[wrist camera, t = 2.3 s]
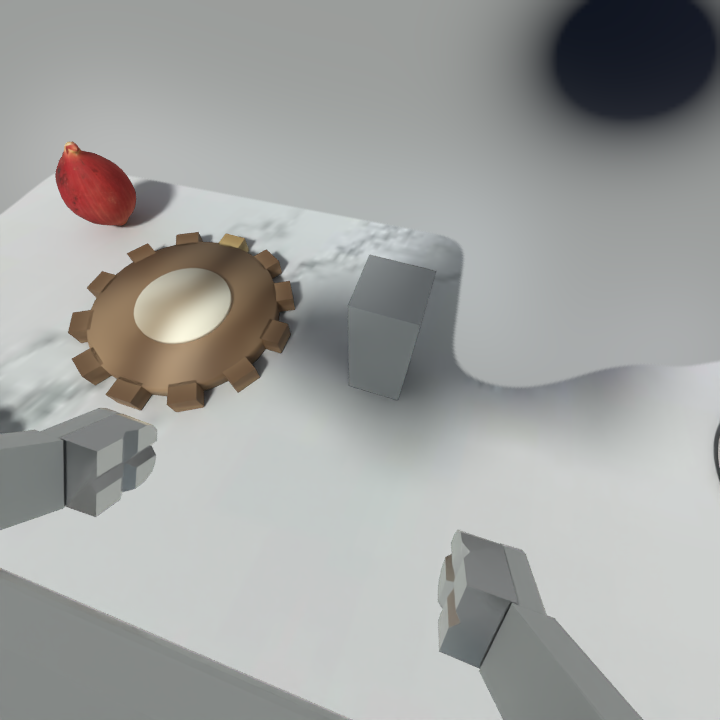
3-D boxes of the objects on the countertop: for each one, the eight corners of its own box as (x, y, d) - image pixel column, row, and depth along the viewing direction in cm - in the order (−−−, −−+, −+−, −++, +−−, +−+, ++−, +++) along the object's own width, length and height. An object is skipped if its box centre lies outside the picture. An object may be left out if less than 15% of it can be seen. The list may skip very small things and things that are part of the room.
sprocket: (323, 269, 33) (321, 254, 31) (236, 442, 25) (227, 434, 23) (161, 228, 35) (152, 211, 34) (31, 373, 27) (11, 361, 25)
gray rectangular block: (410, 357, 29) (436, 271, 20) (397, 400, 27) (420, 325, 18) (363, 344, 29) (369, 254, 20) (348, 385, 27) (347, 305, 18)
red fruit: (99, 251, 34) (33, 172, 27) (84, 218, 36) (19, 137, 29) (158, 229, 35) (111, 149, 28) (141, 198, 38) (93, 117, 31)
